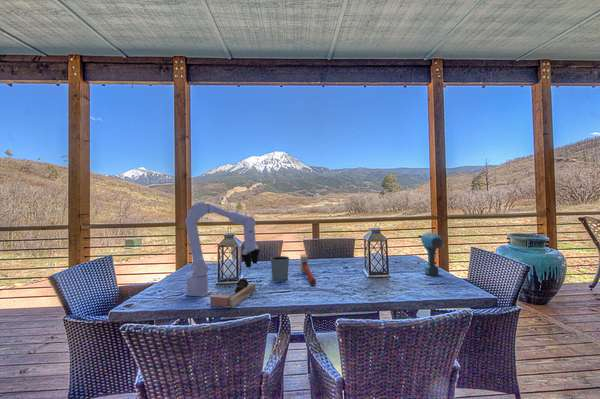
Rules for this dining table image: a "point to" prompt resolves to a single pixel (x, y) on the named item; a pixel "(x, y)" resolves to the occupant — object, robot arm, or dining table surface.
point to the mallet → (306, 269)
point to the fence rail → (241, 295)
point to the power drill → (431, 251)
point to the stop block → (220, 300)
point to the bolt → (241, 285)
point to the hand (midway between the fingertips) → (251, 265)
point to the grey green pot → (280, 268)
